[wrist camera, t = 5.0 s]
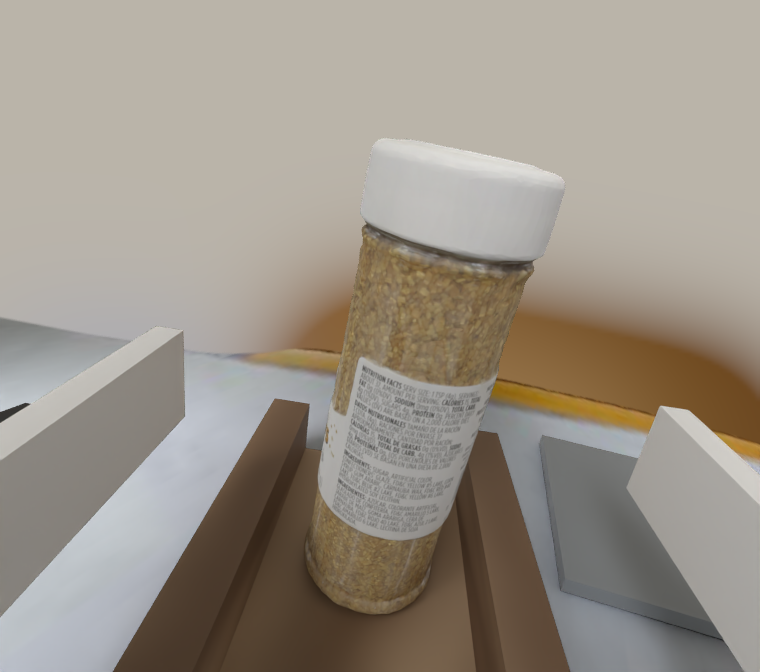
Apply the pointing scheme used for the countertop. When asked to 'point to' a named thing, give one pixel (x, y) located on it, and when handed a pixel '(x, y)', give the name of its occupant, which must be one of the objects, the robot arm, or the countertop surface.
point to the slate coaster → (611, 538)
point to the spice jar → (419, 358)
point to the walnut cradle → (315, 609)
